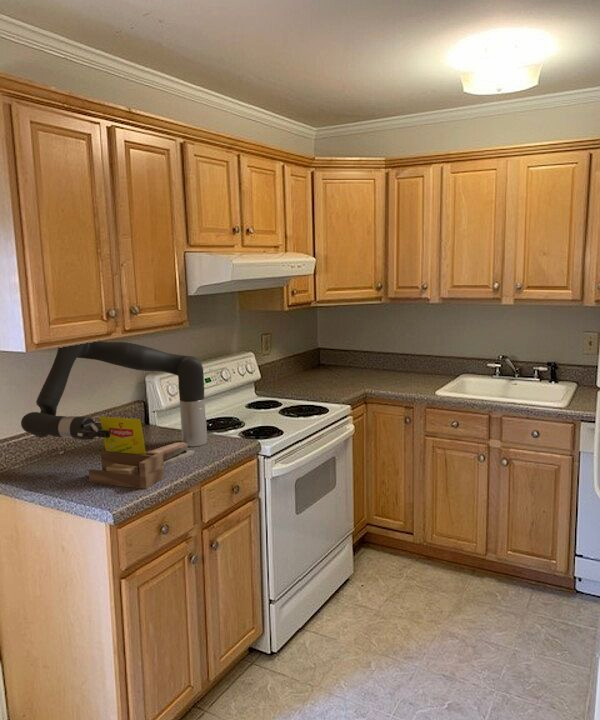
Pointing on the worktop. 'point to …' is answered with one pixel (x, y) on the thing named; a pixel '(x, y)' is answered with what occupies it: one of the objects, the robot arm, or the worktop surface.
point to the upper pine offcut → (123, 468)
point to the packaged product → (174, 452)
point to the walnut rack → (146, 477)
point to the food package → (123, 435)
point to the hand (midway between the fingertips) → (117, 430)
